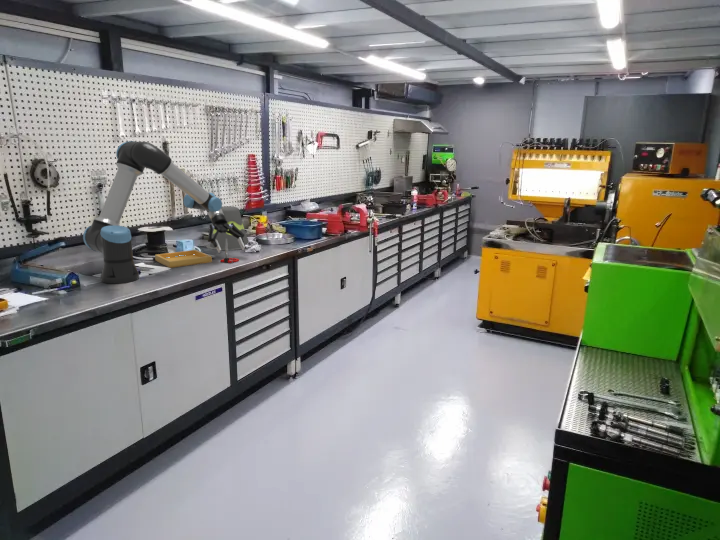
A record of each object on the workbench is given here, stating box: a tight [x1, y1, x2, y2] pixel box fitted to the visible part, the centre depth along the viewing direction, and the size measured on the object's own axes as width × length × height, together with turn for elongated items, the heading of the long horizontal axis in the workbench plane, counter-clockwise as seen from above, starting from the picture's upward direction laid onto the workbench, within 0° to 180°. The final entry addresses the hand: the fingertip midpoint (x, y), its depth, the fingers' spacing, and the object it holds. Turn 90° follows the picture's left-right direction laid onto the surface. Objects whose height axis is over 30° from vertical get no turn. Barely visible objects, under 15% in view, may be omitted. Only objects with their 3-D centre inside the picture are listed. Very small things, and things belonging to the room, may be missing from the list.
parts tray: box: [154, 249, 213, 269], centre depth 249 cm, size 22×20×3 cm
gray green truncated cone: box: [205, 205, 250, 251], centre depth 290 cm, size 28×28×24 cm
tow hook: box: [220, 238, 240, 264], centre depth 252 cm, size 8×13×9 cm
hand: (231, 249), depth 250 cm, fingers open, 13 cm apart
